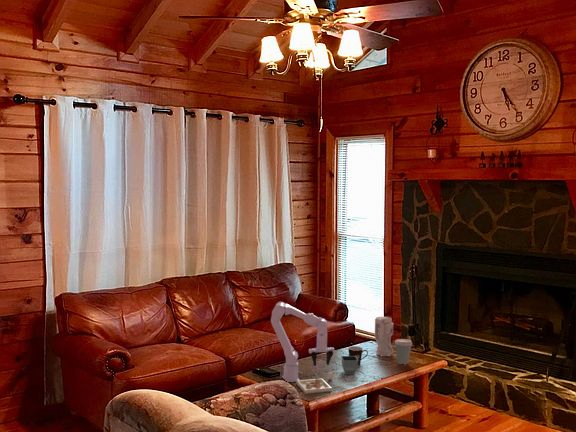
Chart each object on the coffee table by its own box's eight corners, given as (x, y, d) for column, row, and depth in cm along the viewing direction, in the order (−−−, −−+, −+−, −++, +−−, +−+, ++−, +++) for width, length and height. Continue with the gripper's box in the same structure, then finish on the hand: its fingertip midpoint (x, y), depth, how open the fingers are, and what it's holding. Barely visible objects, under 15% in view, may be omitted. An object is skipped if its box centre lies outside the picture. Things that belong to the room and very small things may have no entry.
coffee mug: (346, 365, 372) (347, 349, 371) (349, 361, 380) (349, 345, 379) (365, 367, 368) (366, 351, 367) (368, 363, 376) (368, 347, 376)
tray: (296, 384, 339) (296, 380, 338) (321, 381, 343) (322, 378, 343) (305, 393, 324) (305, 390, 324) (331, 391, 329) (332, 387, 329)
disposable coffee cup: (390, 362, 379) (391, 339, 377) (402, 359, 385) (403, 336, 384) (402, 367, 370) (403, 343, 369) (415, 364, 377) (416, 340, 375)
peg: (327, 379, 347) (328, 372, 346) (331, 379, 347) (331, 372, 347) (329, 380, 345) (329, 373, 345) (332, 380, 346) (332, 373, 345)
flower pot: (340, 370, 362) (341, 355, 362) (355, 370, 363) (355, 355, 362) (342, 375, 354) (343, 360, 353) (357, 375, 354) (358, 360, 353)
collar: (306, 385, 336) (305, 376, 336) (318, 384, 338) (317, 375, 338) (312, 389, 326) (312, 380, 326) (324, 387, 328) (324, 379, 328)
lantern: (382, 350, 403) (383, 313, 401) (395, 354, 395) (396, 316, 393) (370, 355, 394) (371, 316, 391) (383, 358, 386) (385, 319, 384)
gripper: (311, 343, 336) (311, 368, 337) (336, 342, 340) (335, 366, 341) (307, 340, 343) (307, 364, 344) (332, 338, 347) (331, 362, 348)
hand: (321, 364), depth 343 cm, fingers open, 7 cm apart
